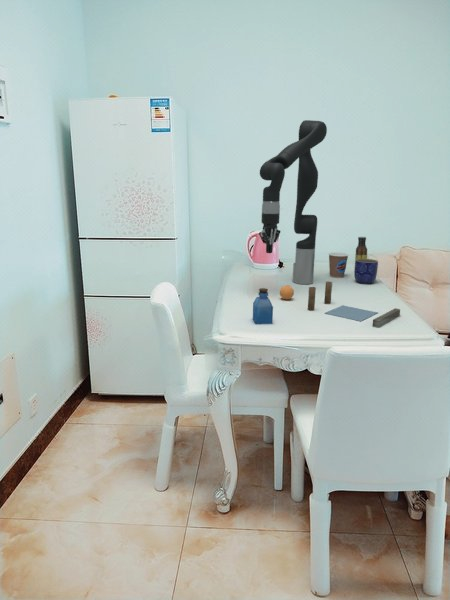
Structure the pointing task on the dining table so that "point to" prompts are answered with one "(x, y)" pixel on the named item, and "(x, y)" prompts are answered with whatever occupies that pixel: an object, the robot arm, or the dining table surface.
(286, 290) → the ball
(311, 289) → the post
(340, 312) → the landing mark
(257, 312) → the perfume bottle
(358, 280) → the planter
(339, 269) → the coffee cup
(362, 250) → the sauce bottle
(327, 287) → the post
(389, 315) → the wall
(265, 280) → the dining table surface
